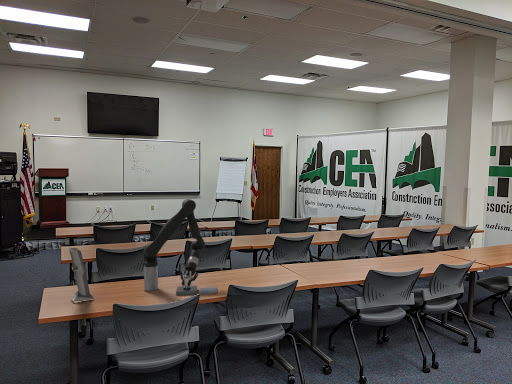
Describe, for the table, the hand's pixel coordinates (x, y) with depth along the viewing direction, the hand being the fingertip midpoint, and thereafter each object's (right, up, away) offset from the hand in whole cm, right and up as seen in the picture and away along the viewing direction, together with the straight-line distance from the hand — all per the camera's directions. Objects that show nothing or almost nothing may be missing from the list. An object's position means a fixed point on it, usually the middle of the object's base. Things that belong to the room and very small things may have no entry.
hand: (185, 285), depth 265 cm
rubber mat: (+15, -5, +4) cm, 17 cm away
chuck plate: (0, -5, +2) cm, 6 cm away
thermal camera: (-66, -7, -13) cm, 68 cm away
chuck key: (0, -5, +2) cm, 6 cm away
